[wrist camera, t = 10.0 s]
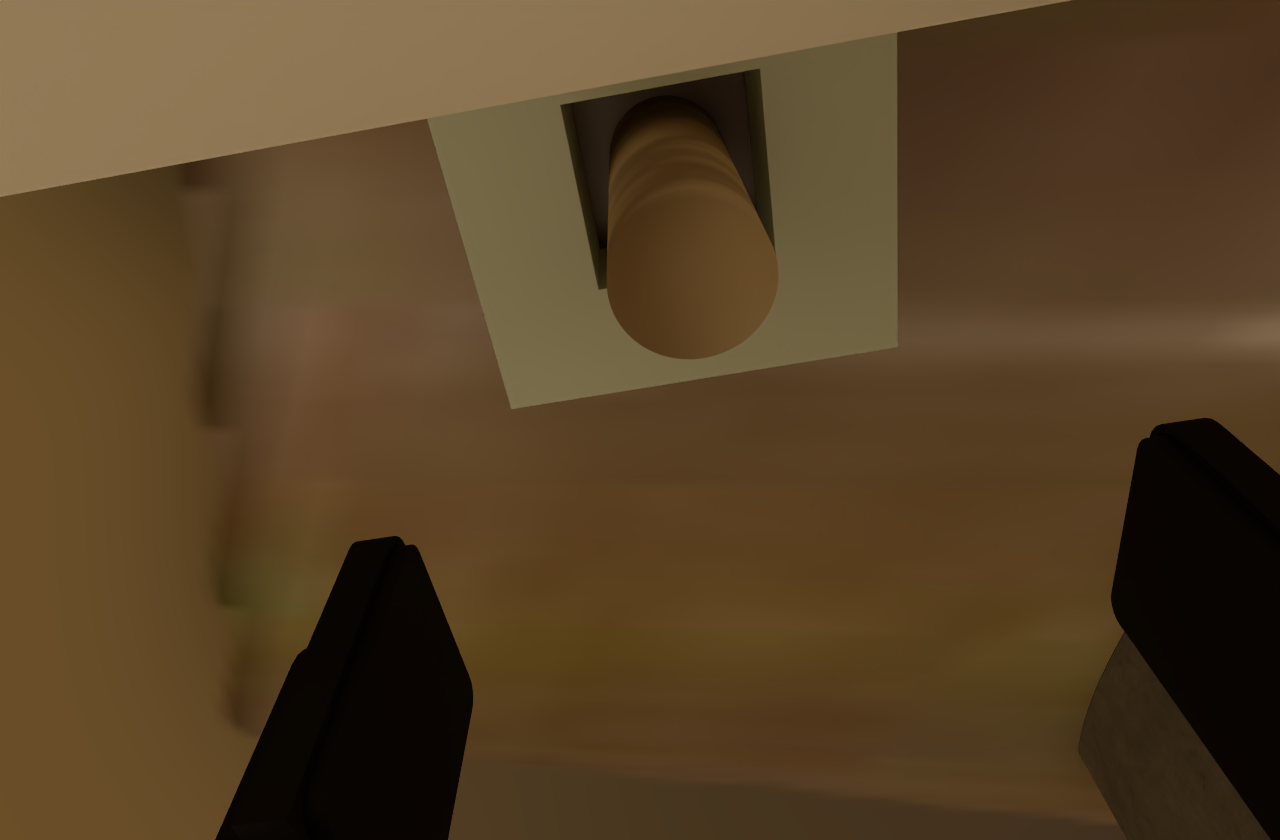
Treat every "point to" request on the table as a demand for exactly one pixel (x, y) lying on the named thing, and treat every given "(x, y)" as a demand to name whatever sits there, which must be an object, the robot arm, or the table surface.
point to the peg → (683, 235)
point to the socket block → (508, 138)
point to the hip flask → (1156, 761)
